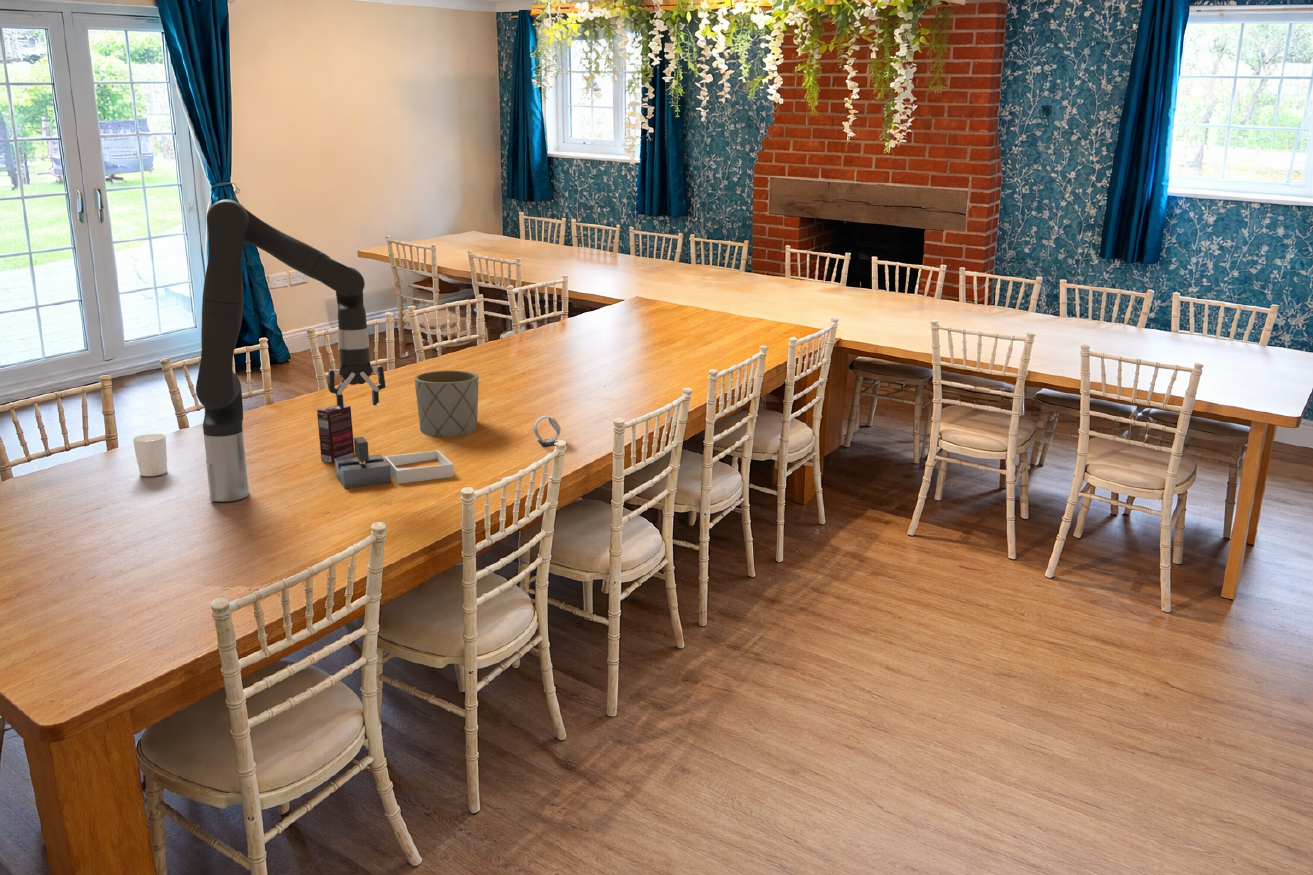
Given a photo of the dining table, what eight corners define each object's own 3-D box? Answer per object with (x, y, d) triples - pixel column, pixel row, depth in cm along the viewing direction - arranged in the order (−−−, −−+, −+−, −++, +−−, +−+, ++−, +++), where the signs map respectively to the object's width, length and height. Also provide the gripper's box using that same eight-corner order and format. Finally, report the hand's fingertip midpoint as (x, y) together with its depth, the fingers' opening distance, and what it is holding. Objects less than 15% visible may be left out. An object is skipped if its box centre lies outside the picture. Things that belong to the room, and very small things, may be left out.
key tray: (397, 483, 266) (396, 470, 265) (384, 468, 279) (384, 456, 278) (453, 476, 273) (453, 464, 272) (438, 462, 286) (438, 450, 285)
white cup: (174, 472, 273) (170, 437, 270) (144, 479, 267) (139, 442, 265) (162, 467, 278) (158, 432, 275) (132, 472, 272) (128, 437, 270)
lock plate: (344, 488, 261) (343, 471, 260) (336, 476, 272) (335, 459, 270) (390, 482, 267) (389, 465, 265) (381, 470, 277) (379, 454, 276)
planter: (407, 445, 302) (404, 381, 297) (431, 430, 320) (428, 369, 315) (468, 449, 299) (465, 384, 294) (488, 433, 317) (486, 371, 312)
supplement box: (343, 457, 290) (339, 403, 285) (355, 459, 287) (351, 405, 283) (320, 464, 282) (315, 409, 278) (332, 466, 280) (328, 411, 276)
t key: (370, 479, 267) (367, 441, 264) (360, 481, 266) (358, 442, 263) (365, 473, 272) (363, 436, 269) (356, 475, 271) (353, 437, 268)
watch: (563, 453, 297) (562, 417, 294) (537, 455, 294) (536, 419, 291) (557, 448, 302) (557, 412, 299) (531, 450, 299) (531, 414, 296)
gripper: (328, 350, 253) (333, 412, 257) (385, 346, 259) (388, 406, 264) (323, 345, 260) (328, 406, 264) (378, 341, 266) (382, 401, 270)
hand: (358, 406), depth 264 cm, fingers open, 8 cm apart
